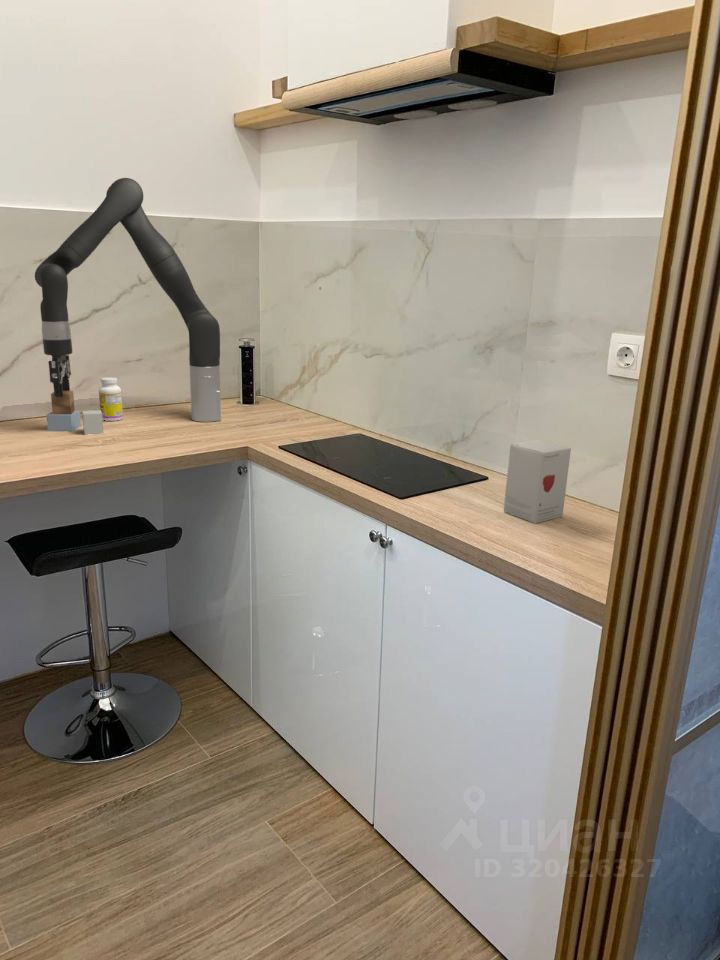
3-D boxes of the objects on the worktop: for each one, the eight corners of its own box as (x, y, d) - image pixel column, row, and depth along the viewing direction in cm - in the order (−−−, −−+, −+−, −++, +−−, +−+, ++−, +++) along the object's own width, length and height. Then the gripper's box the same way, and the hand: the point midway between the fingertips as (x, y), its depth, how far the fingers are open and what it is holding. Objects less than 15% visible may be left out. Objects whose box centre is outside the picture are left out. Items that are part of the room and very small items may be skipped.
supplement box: (535, 524, 146) (542, 452, 141) (502, 512, 153) (508, 443, 148) (564, 516, 151) (572, 447, 147) (531, 505, 158) (538, 438, 153)
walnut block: (74, 410, 214) (73, 390, 212) (71, 414, 209) (69, 393, 207) (56, 410, 213) (55, 390, 211) (52, 414, 208) (50, 393, 206)
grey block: (102, 430, 212) (100, 410, 210) (103, 434, 208) (102, 413, 206) (83, 431, 210) (82, 411, 208) (84, 435, 206) (83, 414, 204)
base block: (81, 427, 216) (79, 410, 214) (72, 432, 209) (70, 415, 208) (57, 426, 216) (56, 409, 214) (47, 431, 209) (46, 414, 208)
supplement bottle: (101, 417, 228) (98, 377, 224) (123, 416, 230) (120, 376, 226) (100, 422, 222) (97, 380, 218) (123, 421, 224) (120, 380, 220)
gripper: (64, 340, 198) (70, 398, 203) (76, 334, 212) (81, 389, 216) (36, 339, 197) (42, 398, 202) (49, 334, 211) (54, 390, 215)
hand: (62, 394), depth 209 cm, fingers open, 8 cm apart
